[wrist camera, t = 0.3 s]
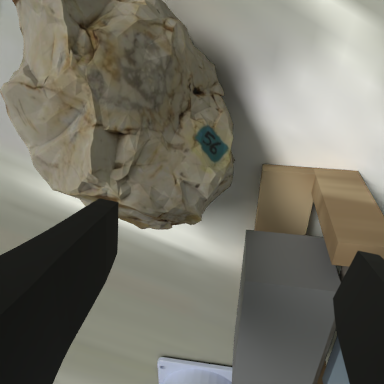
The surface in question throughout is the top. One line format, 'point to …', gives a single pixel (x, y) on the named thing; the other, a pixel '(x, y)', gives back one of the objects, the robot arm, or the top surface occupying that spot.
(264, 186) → the frame
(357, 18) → the top surface
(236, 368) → the trapdoor
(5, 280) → the robot arm
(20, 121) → the rock
